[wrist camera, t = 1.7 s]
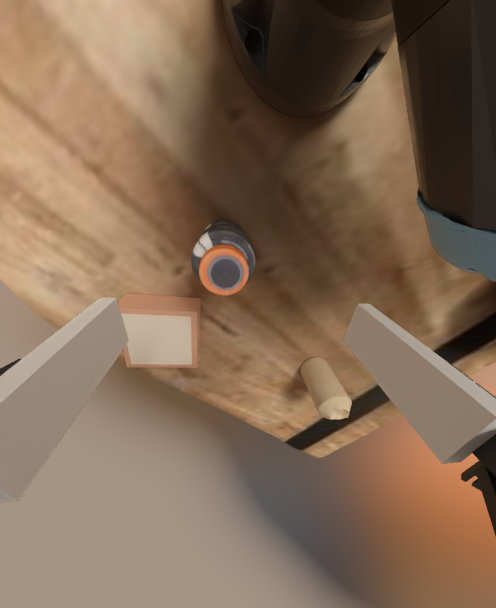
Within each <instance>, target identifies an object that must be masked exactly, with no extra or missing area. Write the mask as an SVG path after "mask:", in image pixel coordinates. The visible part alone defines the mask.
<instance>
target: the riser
mask: <svg viewBox="0 0 496 608" xmlns="http://www.w3.org/2000/svg"><path fill="white" fill-rule="evenodd" d="M118 304H119V308H120V311H121V315H122V318H123V322H124V325H125V329H126V332H127V336H128V339H129V341H128V343H127V344H126V346H125V347H124V349H123V353H124V357H125V361H126V365H127V367H193V368H197V367H198V361H199V355H200V314H201V298H195V297H177V296H160V295H142V294H126V295H125V296H124V297H123V298H122V299H121V300H120V301H119V302H118Z"/></svg>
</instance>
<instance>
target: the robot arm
mask: <svg viewBox="0 0 496 608" xmlns="http://www.w3.org/2000/svg"><path fill="white" fill-rule="evenodd" d="M222 4H223V12H224V17H225V23H226V27H227V32H228V36H229V39H230V43H231V46H232V49H233V52H234V54H235V57H236V60H237V62H238V64H239V66H240V68H241V70H242V72H243V74H244V76H245V77H246V79H247V81H248V82H249V84H250V85H251V87H252V88H253V89H254V90H255V92H256V93H257V94H258V95H259V96H260V97H261V98H262V99H263V100H264V101H265V102H266V103H267V104H269V105H270V106H271V107H273V108H275V109H276V110H278V111H280V112H283V113H285V114H288V115H292V116H300V117H305V116H313V115H317V114H320V113H323V112H326V111H328V110H330V109H332V108H333V107H335V106H336V105H338V104H339V103H341V102H342V101H343V100H344V99H346V98H347V97H348V96H349V95H350V94H352V93H353V92H354V91H355V90H356V89H357V88H358V87H360V86H361V85H362V84H363V83H364V82H365V81H366V80H367V78H368V77H369V76H370V75H371V74H372V72H373V71H374V70H375V69H376V67H377V66H378V65H379V63H380V62H381V61H382V59H383V58H384V56H385V55H386V53H387V51H388V50H389V48H390V47H391V45H392V43H393V41H394V40H395V38H396V36H397V42H398V53H399V60H400V66H401V73H402V79H403V86H404V93H405V99H406V106H407V112H408V119H409V125H410V132H411V138H412V145H413V152H414V158H415V165H416V171H417V178H418V184H419V188H418V192H417V193H418V197H417V204H418V206H419V208H420V210H421V211H422V212H423V213H424V216H425V221H426V225H427V229H428V234H429V238H430V241H431V243H432V245H433V247H434V248H435V250H436V251H437V252H438V253H439V254H440V255H441V256H442V257H443V258H444V259H445V260H447V261H448V262H449V263H451V264H452V265H454V266H456V267H458V268H460V269H463V270H465V271H468V272H474V273H481V274H482V275H483V276H484V277H485V278H487V279H488V280H491V281H495V282H496V0H222ZM128 341H129V339H128V336H127V332H126V329H125V325H124V322H123V318H122V315H121V311H120V308H119V304H118V301H117V298H99V299H98V300H96V301H95V302H94V303H93V304H91V305H90V306H89V307H88V308H86V309H85V310H84V311H82V312H81V313H80V314H79V315H77V316H76V317H75V318H74V319H72V320H71V321H70V322H68V323H67V324H66V325H65V326H63V327H62V328H61V329H60V330H58V331H57V332H56V333H54V334H53V335H52V336H51V337H49V338H48V339H47V340H46V341H44V342H43V343H42V344H40V345H39V346H38V347H37V348H35V349H34V350H33V351H32V352H30V353H29V354H28V355H26V356H25V357H24V358H23V359H18V360H16V361H14V362H12V363H10V364H8V365H6V366H5V367H3V368H1V369H0V503H3V502H15V501H19V500H20V498H21V497H22V495H23V494H24V492H25V491H26V489H27V488H28V486H29V485H30V484H31V482H32V481H33V479H34V478H35V476H36V475H37V473H38V472H39V470H40V469H41V468H42V466H43V465H44V463H45V462H46V460H47V459H48V457H49V456H50V454H51V453H52V452H53V450H54V449H55V447H56V446H57V444H58V443H59V441H60V440H61V439H62V437H63V436H64V434H65V433H66V431H67V430H68V428H69V427H70V426H71V424H72V423H73V421H74V420H75V418H76V417H77V415H78V414H79V412H80V411H81V409H82V408H83V407H84V405H85V404H86V402H87V401H88V399H89V398H90V397H91V395H92V394H93V392H94V391H95V389H96V388H97V386H98V385H99V383H100V382H101V380H102V379H103V378H104V376H105V374H106V373H107V372H108V370H109V369H110V367H111V366H112V365H113V363H114V362H115V360H116V359H117V357H118V356H119V354H120V353H121V352H122V350H123V349H124V347H125V346H126V344H127V343H128ZM343 341H344V343H345V344H346V345H347V346H348V347H349V349H350V350H351V351H352V352H353V354H354V355H355V356H356V357H357V359H358V360H359V361H360V362H361V364H362V365H363V366H364V367H365V369H366V370H367V371H368V372H369V374H370V375H371V376H372V377H373V379H374V380H375V381H376V382H377V384H378V385H379V386H380V387H381V389H382V390H383V391H384V392H385V393H386V395H387V396H388V397H389V398H390V400H391V401H392V402H393V403H394V405H395V406H396V407H397V408H398V410H399V411H400V412H401V413H402V415H403V416H404V417H405V418H406V420H407V421H408V422H409V423H410V425H411V426H412V427H413V428H414V430H415V431H416V432H417V433H418V434H419V436H420V437H421V438H422V439H423V441H424V442H425V443H426V444H427V446H428V447H429V448H430V449H431V451H432V452H433V453H434V454H435V456H436V457H437V458H438V459H439V461H440V462H441V463H454V462H461V461H462V460H464V459H465V458H466V457H468V456H469V455H470V454H471V453H473V454H474V455H475V456H476V457H477V458H478V459H479V460H480V461H478V462H477V463H475V464H474V465H473V466H471V467H470V468H468V469H467V470H466V471H464V472H463V473H462V474H461V479H462V480H463V481H465V482H466V481H468V480H469V479H471V478H472V477H473V476H477V477H478V479H477V480H475V481H474V482H473V483H472V486H474V487H475V488H477V489H479V490H481V491H482V493H483V497H484V500H485V503H486V506H487V510H488V513H489V516H490V519H491V522H492V526H493V529H494V532H495V535H496V397H495V396H493V395H492V394H490V393H489V392H488V391H487V390H485V389H484V388H483V387H481V386H480V385H479V384H477V383H475V382H473V380H472V379H470V378H469V377H468V376H467V375H465V374H463V373H461V371H460V370H459V369H457V368H456V367H455V366H453V365H452V364H450V363H449V362H448V361H446V360H444V359H443V358H441V357H440V356H439V355H437V354H436V353H435V352H433V351H432V350H431V349H429V348H428V347H427V346H425V345H424V344H423V343H421V342H420V341H419V340H417V339H416V338H415V337H413V336H412V335H411V334H409V333H408V332H407V331H405V330H404V329H403V328H401V327H400V326H399V325H397V324H396V323H395V322H393V321H392V320H391V319H389V318H388V317H387V316H385V315H384V314H383V313H381V312H380V311H379V310H377V309H376V308H375V307H373V306H372V305H371V304H357V306H356V309H355V311H354V314H353V316H352V319H351V321H350V324H349V326H348V329H347V331H346V334H345V336H344V339H343Z"/></svg>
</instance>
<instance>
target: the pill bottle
mask: <svg viewBox="0 0 496 608" xmlns="http://www.w3.org/2000/svg"><path fill="white" fill-rule="evenodd" d="M255 262H256V261H255V254H254V251H253V248H252V246H251V244H250V242H249V241H248V239H247V237H246V235H245V233H244V232H243V230H242V229H241V228H240V227H239V226H238V225H237V224H235V223H233V222H231V221H226V220H218V221H215V222H213V223H211V224H210V225H209V226H207V228H206V229H205V230H204V232H203V233H202V235H201V236H200V238H199V240H198V241H197V243H196V245H195V247H194V250H193V253H192V267H193V270H194V273H195V275H196V277H197V278H198V279H199V281H200V282H201V283H202V284H203V285H204V287H205V288H207V289H208V290H209V291H210V292H212V293H214V294H217V295H223V296H227V295H231V294H235V293H237V292H238V291H239V290H241V289H242V288H243V287H244V285H245V284H246V283H247V282H248V281H249V280H250V279H251V277H252V275H253V273H254V270H255Z"/></svg>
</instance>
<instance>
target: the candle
mask: <svg viewBox="0 0 496 608" xmlns="http://www.w3.org/2000/svg"><path fill="white" fill-rule="evenodd" d="M300 371H301V374H302V377H303V379H304V381H305V384H306V386H307V388H308V390H309V393H310V395H311V397H312V399H313V402H314V404H315V406H316V409H317V411H318V413H319V415H320V416H322V417H324V418H327V419H331V420H332V419H343V418H347V417H348V416H349V411H350V408H351V404H352V402H351V400H350V398H349V396H348V395H347V393H346V392H345V390H344V388H343V387H342V385H341V384H340V382H339V381H338V379H337V377H336V376H335V374H334V373H333V371H332V369H331V368H330V366H329V365H328V363H327V362H326V360H325V359H323V358H321V357H313V358H310V359H308V360H306V361H305V362H304V363H303V364H302V365H301V368H300Z"/></svg>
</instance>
